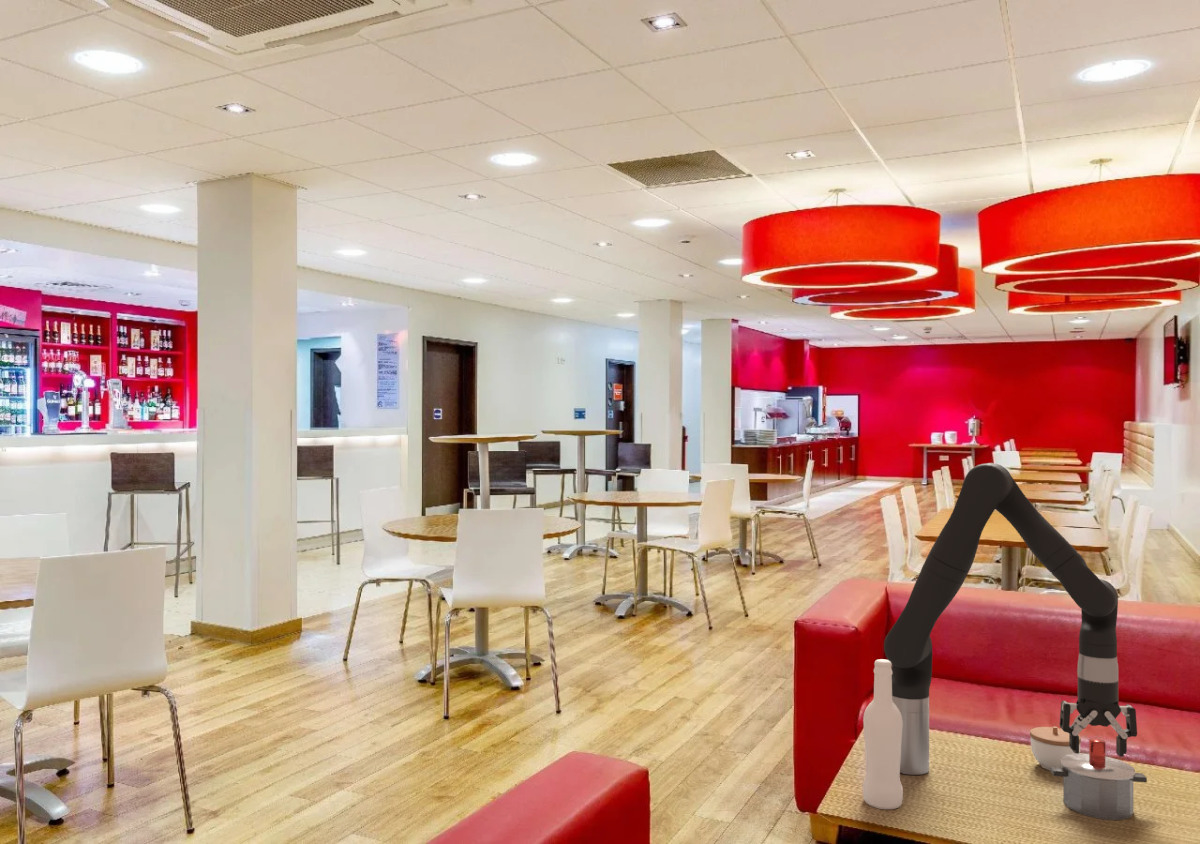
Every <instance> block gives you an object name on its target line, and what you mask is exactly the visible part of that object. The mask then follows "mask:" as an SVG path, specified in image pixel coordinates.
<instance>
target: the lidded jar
mask: <svg viewBox="0 0 1200 844" xmlns="http://www.w3.org/2000/svg"><path fill="white" fill-rule="evenodd" d="M1078 736H1079V753H1081V743H1082V737H1081V736H1080V734H1078ZM1029 737H1030V746H1031V747H1030V748H1031V752H1032V756H1033V757H1034V759H1035V760H1036V762H1038V763H1039V764H1040V767H1042V768H1043V769H1045V770H1047V771H1050V767H1059V768H1063V766H1062V765H1061V758H1062V757H1063V756H1065V755H1068V754H1077V753H1074V752H1073V750H1072V749H1071V748H1070V746H1069V733H1067V732H1064V731H1063V730H1062V729H1061V728H1060V727H1058V726H1052V727H1051V726H1039V727H1034V728H1032V729H1030V731H1029Z"/></svg>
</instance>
